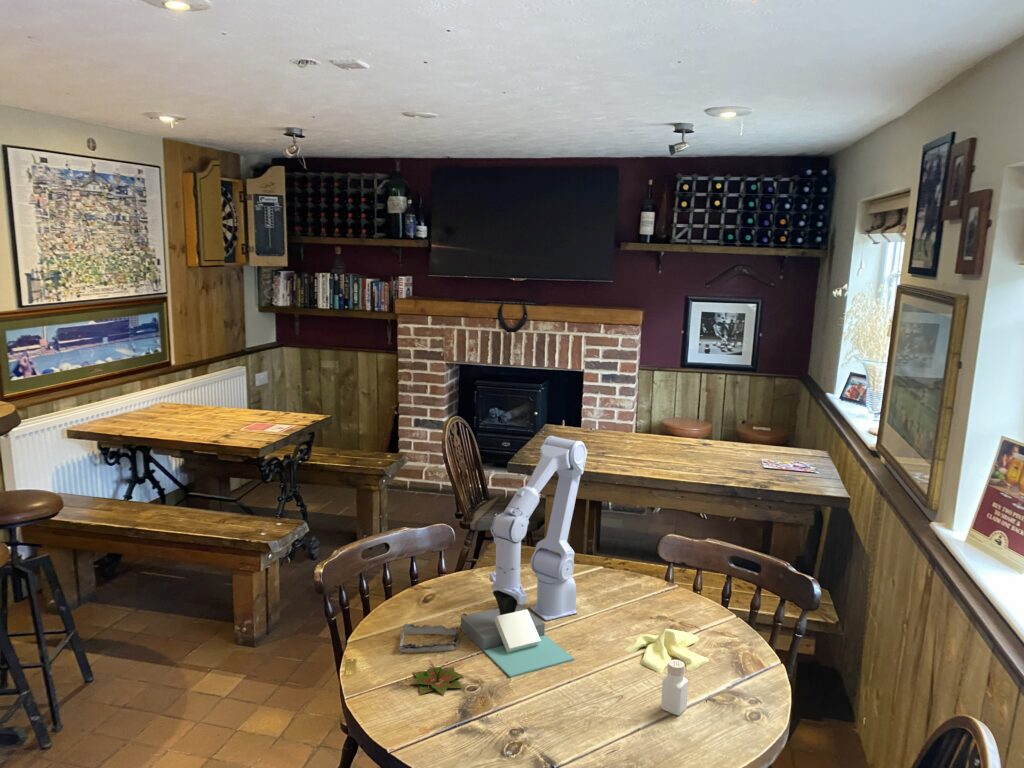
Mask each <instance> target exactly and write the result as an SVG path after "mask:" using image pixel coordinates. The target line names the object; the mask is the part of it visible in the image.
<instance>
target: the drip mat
mask: <svg viewBox="0 0 1024 768" xmlns="http://www.w3.org/2000/svg"><path fill="white" fill-rule="evenodd" d="M540 639H541V641H540V643H539V645H536V646H532V647H528V648H524V649H520V650H516V651H512V652H508V653H507V651H506V649H505V646H500V647H496V648H492V649H488V650H484V651H483V652H484V654H486V655H487V656H488V657H489V659H490V660H492V661H493V662H494V663H495V665H497V666H498V667H499V668H500V670H502V671H503V673H505V675H507V676H508V677H509V678H514V677H518V676H521V675H525V674H529V673H532V672H536V671H539V670H543V669H546V668H552V667H554V665H555V666H559V665H562V664H564V662H565V663H570V662H573V661H575V658H574V657H573V656H572V655H571V654H569V653H568V652H567V651H566V650H565V649H563V647H561V646H559V644H557V643H556V642H555V641H553V639H552V638H550V637H549V636H547V635H546V634H544V636H540ZM561 663H562V664H561Z"/></svg>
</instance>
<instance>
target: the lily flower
mask: <svg viewBox="0 0 1024 768" xmlns="http://www.w3.org/2000/svg"><path fill="white" fill-rule="evenodd" d="M443 660H444V658H442V659H441V662H443ZM428 662H429V665H430V666H429V668H427V669H426V670H421V671H415V672H412V673H413V675H414V676H415V679H414V680H413V681H412V682H411V683H410V684H409V686H411V685H412V686H413V685H419V684H420V686H419V696H421V695H424V694H427V693H429V692H434V691H437V692H438V693H439V694H441V695H442V696H444V695H445V693H446V691H447V689H464V687H463V686H462V684H461V683H460V681H458V680H457V679H458V678H463V677H464V675H463V674H462V673H459V672H457V671H455V666H449V667H444V666H445V665H446V664H447V663H449V661H446V662H444V664H442V663H439V666H435V665H434V664H433V663H432V661H431V660H428ZM435 664H436V665H437V662H436V663H435ZM441 664H442V665H441ZM433 679H434V680H435V682H440V680H442V681H443V680H444V681H443V682H442V681H441V682H442V683H441V682H440V683H434V682H433V681H434V680H433ZM431 680H433V681H432V682H431ZM448 682H449V683H448ZM428 685H430V686H431V687H428ZM428 688H430V689H428Z"/></svg>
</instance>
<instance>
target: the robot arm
mask: <svg viewBox="0 0 1024 768" xmlns="http://www.w3.org/2000/svg"><path fill="white" fill-rule="evenodd" d="M539 451H540V453H539V455H540V459H539V461H538V462H537V465H536V466H535V468H534V469H533V472H532V474H531V476H530V478H529V479H528V481H527V483H526V485H525V486H522V487H519V488H518V489H517V491H516V493H514V496H512V499H511V500H510V502H509V504H507V506H506V508H505V510H504V511H502V512H501V513H499V514H497V515H496V516H495V517H494V518H493V520H492V523H491V526H490V533H491V536H493V544H494V545H495V571H494V572H490V573H489V582H491V583H493V584H491V585H490V589H491V590H492V595H493V596H494V598H495V601H496V603H497V607H498V608H499V611H500V615H504V614H508V613H513V612H515V609H516V607H517V605H518V604H521V605H522V604H527V602H528V601H527V600H528V595H527V593H526V592H525V591H524V588H523V586H522V583H521V559H522V558H521V554H522V549H521V548H522V540H523V539H524V538H525V537H526V535H527V531H528V526H529V524H530V521H529V519H530V518H531V516H532V514H533V512H534V511H535V509H536V508H537V507H538V505H539V503H540V497H539V494H540V493H541V491H542V490H543V489H544V487H545V486H546V485H547V483H548V482H549V481H550V479H552V478H551V477H553V475H554V474H555V472H556V473H557V475H558V480H557V485H556V489H555V493H554V499H553V504H552V507H551V508H552V509H551V513H550V518H549V521H548V522H549V523H548V527H547V532H546V536H545V537H544V538H542V539H541V540H540V541H537V543H536V546H535V549H534V552H533V553H532V555H531V557H530V568H531V570H532V572H533V573H534V577H536V578H537V579H536V582H537V583H536V604H534V605H531V606H529V609H530V610H531V611H532V612H534V613H535V614H536V615H538V616H539V617H540V618H541V619H543V620H544V621H551V620H555V619H559V618H562V617H563V618H564V617H567V616H571V615H575V614H578V611H577V609H576V608H577V607H576V606H577V584H576V581H575V579H574V577H573V576H572V575H573V573H574V569H575V561H574V559H575V554H576V553H575V551H574V550H573V548H572V547H571V546H570V544H569V543H568V538H569V533H570V528H571V523H572V518H573V514H574V510H575V506H576V505H575V504H576V499H577V495H578V489H579V487H580V486H579V485H580V480H581V476H582V475H583V474H584V471H585V466H586V462H587V457H588V449H587V448H586V445H585V443H584V442H583V441H582V440H573V439H570V438H569V439H568V438H562V437H557V436H554V435H548V436H547V437H546V438H545V439H544V441H543V442H542V445H541V447H540V450H539Z"/></svg>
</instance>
